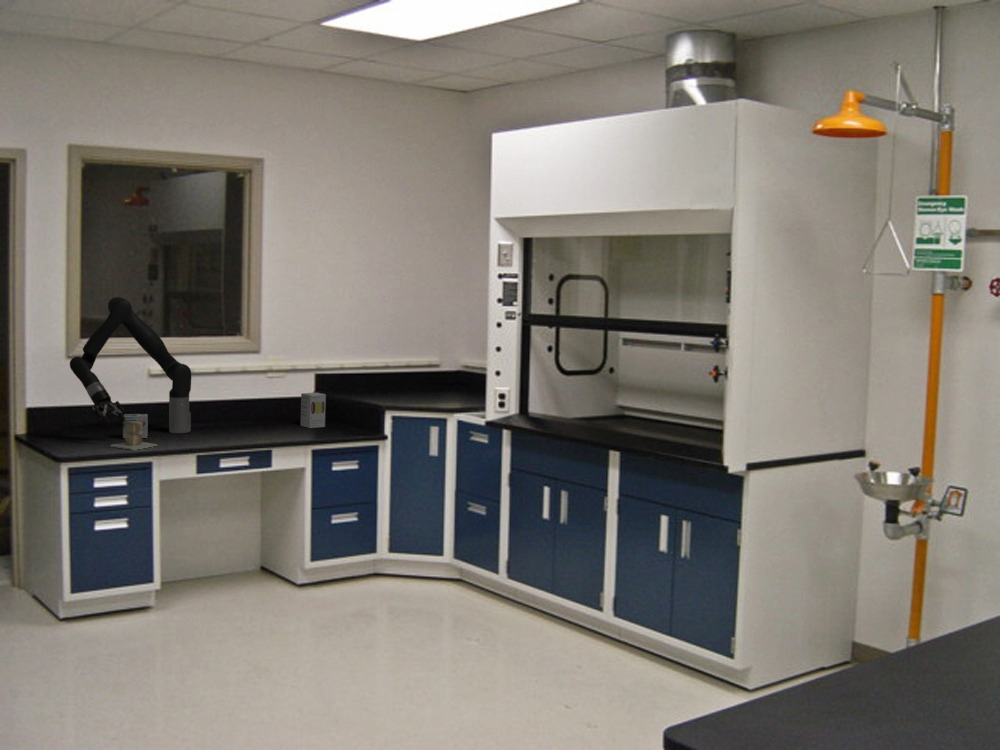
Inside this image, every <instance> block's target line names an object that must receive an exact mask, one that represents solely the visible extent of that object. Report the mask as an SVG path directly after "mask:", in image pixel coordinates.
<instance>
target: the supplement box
mask: <svg viewBox="0 0 1000 750" xmlns="http://www.w3.org/2000/svg"><path fill="white" fill-rule="evenodd" d="M300 395H301V396H300V398H301V399H300V426H301V427H304V428H309V429H314V428H325V427H326V404H327V403H326V399H327V398H326V397H327V395H326V394H325V393H320V392H308V393H307V392H305V393H304V392H302V393H301V394H300Z"/></svg>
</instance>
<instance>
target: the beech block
mask: <svg viewBox="0 0 1000 750" xmlns="http://www.w3.org/2000/svg"><path fill="white" fill-rule="evenodd" d="M124 440H125V442H126V445H130V446H137V445H142V442H143V439H142V422H137V421H131V422H125V439H124Z"/></svg>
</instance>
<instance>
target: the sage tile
mask: <svg viewBox="0 0 1000 750" xmlns="http://www.w3.org/2000/svg"><path fill="white" fill-rule="evenodd" d="M110 446H111V447H110ZM153 446H157V447H158V443H157V444H156V443H150V442H146V441H145V442H144V441H142V445H137V446H130V445H126V441H125V442H121V443H113V444H110V445H109V447H110V448H112V447H117V448H116V449H118V448H123V449H122V450H124V449H129V450H128V451H130V450H135V451H138V450H137V449H141V450H144V449H143V448H147V449H149V448H148V447H152V448H154V447H153Z"/></svg>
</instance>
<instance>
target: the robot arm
mask: <svg viewBox="0 0 1000 750" xmlns="http://www.w3.org/2000/svg"><path fill="white" fill-rule="evenodd" d="M107 309H108V311H109V313H108V316H107V317H106V319H105V321H104V322H103V323H102V324H101V326H99V327H98V328H97V329H96V330H95V331H94V332H93V333H92V335H90V337H89V338H88V340H87V341H86V343H85V344H84V346H83V347H82V351H83V355H82V356H74V357H72V358H71V359H70V361H69V368H70V370H71V372H72V373H73V375H75V377H76V378H77V379H78V380H79V381H80V382H81V384H82V386H83V387H84V389H85V391H86V392H87V394H88V397H89V398H90V400H91V401H92V403H93V406H92V407H91V411H92V412H93V414H94V415H95V418H96V419H101V420H102V421H103V423H104V424H105V425H106V426H109V425H110V424H111V421H110V420H109V418H108V417H107V415H106V414H113V415H116V416H117V418H118V419H119V421H120V423H123V422H124V421H125V417H124V415H123V413H124V412H125V409H124V407H123V406H122V405H121V403H120V402H119V400H116V401H115V402H113V401H112V400H111V399H112V398H111V396H110V394H109V393H108V391H107V390H106V389H107V388H106V387H105V385H103V383H101V382H102V381H100V379H99V378H98V376H97V375H96V374H95V373H94V372H92V368H93V366H94V364H95V362H96V359H97V356H98V355H99V354H100V352H101V351H102V349H103V348H104V347H105V344H106V343H107V342H108V341H109V339H110V338H111V336H112V335H113V334H114V333H115V331H116V330H117V329H118V327H120V326H121V325H123V326H124V327H125V329H127V331H128V332H129V334H130V335H131V336H132V337H133V339H134V340H135V341H136V342H137V344H138V345H139V346H140V347H141V348H142V349H143V350H144V351H145V353H146V354H148V355H149V357H151V358H152V359H153V360H154V361H155V362H156V363H157V364H158V365H159V366H160V368H161V369H162V371H163V372H164V373H165V375H166V376H167V378H169V379H170V381H172V383H171V385H172V386H171V389H170V390H169V393H168V407H169V408H168V410H169V411H168V412H169V414H168V418H169V419H168V423H169V424H168V431H169V432H168V433H171V434H185V433H186V434H187V433H190V432H191V430H192V428H191V424H192V420H191V419H192V413H191V411H190V393H191V389H192V370H191V367H190V366H189V365H187V364H185V363H181V362H180V361H178V360H177V359H176V358H175V357H174V356H172V355H171V354H170V352H169V351H168V349H167V347H166V345H165V343H164V341H163V340H162V338H161V337H160V336H159V335H158V334H157V332H156V331H155V330H154V329H153V328H151V326H149V325H148V324H147V323H146V322H144V321H143V320H142V319H141V318H140V317H139V316H138V315H137V314H136V313H135V312H134V310H133V307H132V304H131V302H129V301H128V300H127V299H125V298H124V297H120V296H115V297H113V298H111V299H110V300H109V301H108V303H107Z"/></svg>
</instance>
